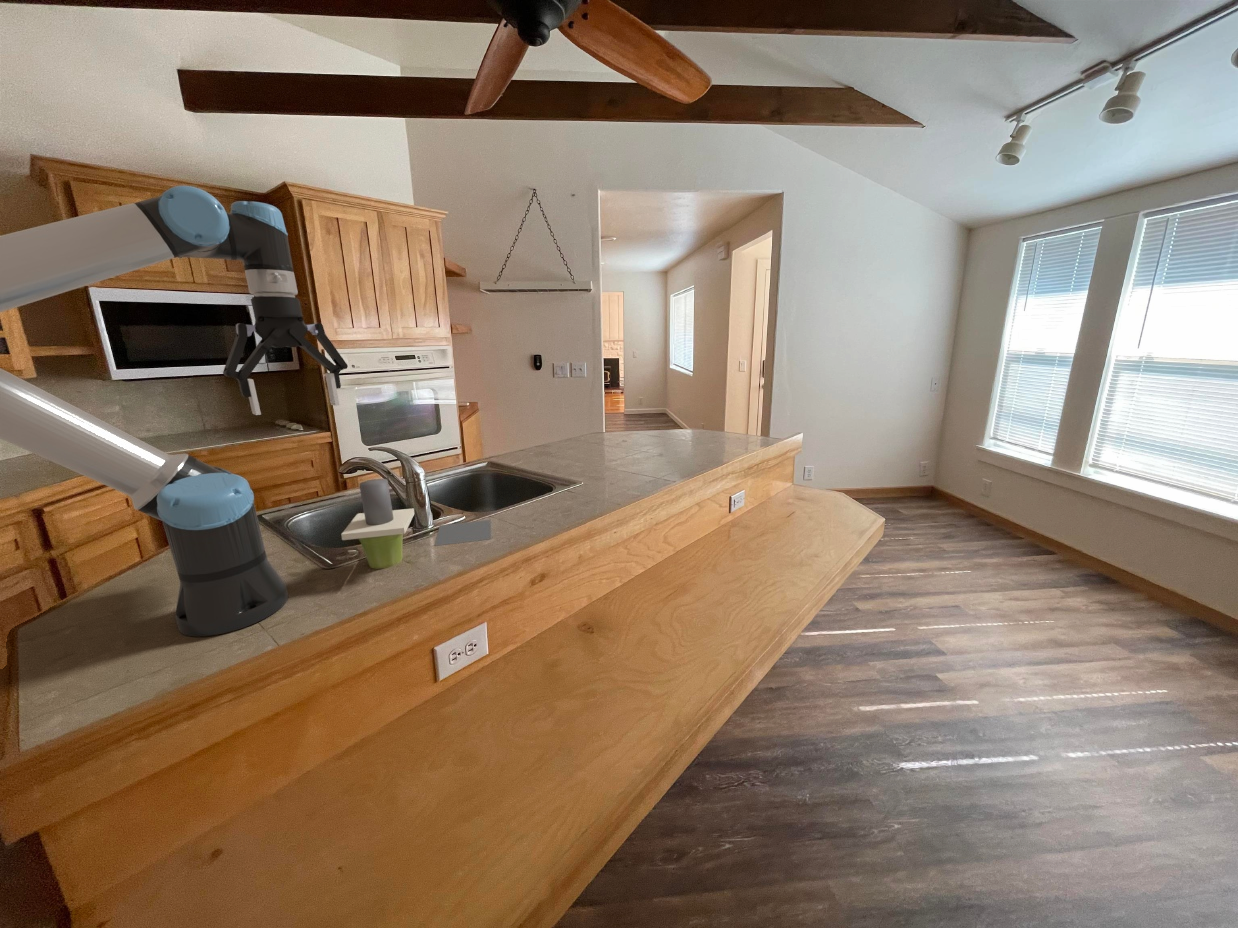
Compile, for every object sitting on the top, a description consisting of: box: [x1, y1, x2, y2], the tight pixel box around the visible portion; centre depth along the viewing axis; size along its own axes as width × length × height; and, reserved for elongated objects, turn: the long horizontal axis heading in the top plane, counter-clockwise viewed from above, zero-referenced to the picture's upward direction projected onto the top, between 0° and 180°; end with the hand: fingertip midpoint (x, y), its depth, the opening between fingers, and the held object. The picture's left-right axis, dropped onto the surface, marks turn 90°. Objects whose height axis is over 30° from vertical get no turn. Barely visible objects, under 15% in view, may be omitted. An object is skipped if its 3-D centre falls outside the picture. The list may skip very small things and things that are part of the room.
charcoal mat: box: [434, 519, 492, 547], centre depth 113 cm, size 12×12×1 cm
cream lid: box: [340, 478, 415, 541], centre depth 95 cm, size 11×11×9 cm
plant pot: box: [358, 534, 404, 570], centre depth 98 cm, size 9×9×9 cm
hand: (297, 409), depth 95 cm, fingers open, 13 cm apart
